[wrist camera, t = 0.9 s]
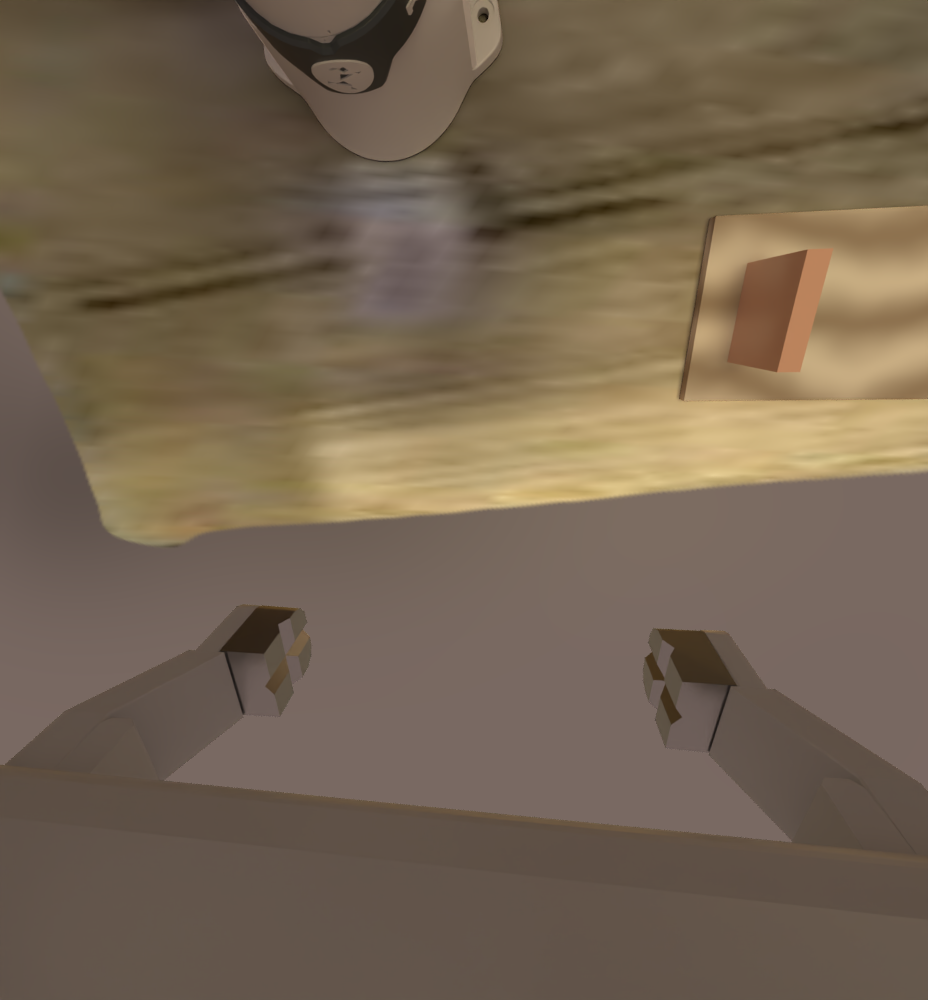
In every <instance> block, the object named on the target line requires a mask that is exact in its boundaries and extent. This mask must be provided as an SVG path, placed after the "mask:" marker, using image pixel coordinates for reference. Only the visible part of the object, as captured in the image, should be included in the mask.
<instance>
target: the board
mask: <svg viewBox="0 0 928 1000" xmlns="http://www.w3.org/2000/svg"><path fill="white" fill-rule="evenodd" d="M827 248H833V252H832V256H831V259H830V263H829V267H828V270H827V274H826V278H825V282H824V285H823V289H822V293H821V296H820V300H819V304H818V307H817V311H816V315H815V319H814V322H813V326H812V330H811V333H810V337H809V341H808V344H807V348H806V352H805V356H804V359H803V363H802V367H801V370H800V372H773V371H768V370H763V369H758V368H753V367H748V366H744V365H739V364H734V363H729V362H727V360H728V355H729V351H730V346H731V341H732V336H733V331H734V326H735V321H736V316H737V311H738V307H739V302H740V297H741V292H742V287H743V282H744V277H745V272H746V267H747V263H750V262H754V261H759V260H763V259H767V258H772V257H776V256H781V255H785V254H789V253H794V252H798V251H803V250H807V249H827ZM679 399H681V400H683V401H739V400H856V399H928V206H912V207H891V208H871V209H851V210H830V211H810V212H790V213H769V214H749V215H729V216H715V217H713V218H711V219H710V220H709V226H708V232H707V238H706V244H705V250H704V256H703V262H702V268H701V274H700V280H699V285H698V291H697V297H696V303H695V309H694V315H693V321H692V327H691V333H690V339H689V345H688V351H687V357H686V363H685V369H684V375H683V381H682V387H681V393H680V398H679Z"/></svg>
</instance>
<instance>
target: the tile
mask: <svg viewBox="0 0 928 1000" xmlns="http://www.w3.org/2000/svg"><path fill="white" fill-rule="evenodd" d="M832 252H833V248H827V249H807V250H803V251H798V252H794V253H789V254H785V255H781V256H776V257H772V258H767V259H763V260H759V261H754V262H750V263H747V267H746V272H745V277H744V282H743V287H742V292H741V297H740V302H739V307H738V311H737V316H736V321H735V326H734V331H733V336H732V341H731V346H730V351H729V355H728V360H727V362H729V363H734V364H739V365H744V366H748V367H753V368H758V369H763V370H768V371H773V372H800V370H801V367H802V363H803V359H804V356H805V352H806V348H807V344H808V341H809V337H810V333H811V330H812V326H813V322H814V319H815V315H816V311H817V307H818V304H819V300H820V296H821V293H822V289H823V285H824V282H825V278H826V274H827V270H828V267H829V263H830V259H831V256H832Z"/></svg>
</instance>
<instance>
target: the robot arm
mask: <svg viewBox="0 0 928 1000" xmlns="http://www.w3.org/2000/svg"><path fill="white" fill-rule="evenodd" d="M235 2H236V3H237V5H238V6H239V8H240V10H241V12H242V14H243V15H244V17H245V18H246V20H247V21H248V23H249V24H250V26H251V27H252V29H253V30H254V31H255V33H256V34H257V36H258V37H259V39H260V40H261V41H262V43H263V44H264V55H265V59H266V62H267V64H268V65H269V67H270V68H271V70H272V71H273V73H274V74H275V75H276V76H277V77H278V78H279V79H280V80H281V81H282V82H283V83H284V84H286V85H287V86H288V87H290V88H291V89H293V90H294V91H295V92H297V93H298V94H300V95H301V96H302V97H303V98H304V100H305V101H306V102H307V104H308V105H309V107H310V108H311V110H312V111H313V113H314V114H315V116H316V117H317V119H318V121H319V122H320V123H321V125H322V126H323V127H324V128H325V130H326V131H327V132H328V133H329V134H330V135H331V136H332V137H333V138H334V139H335V140H336V141H337V142H338V143H340V144H341V145H342V146H344V147H345V148H346V149H348V150H350V151H351V152H353V153H355V154H357V155H360V156H362V157H365V158H368V159H372V160H378V161H394V160H400V159H404V158H407V157H410V156H413V155H415V154H417V153H419V152H421V151H422V150H424V149H426V148H427V147H428V146H430V145H431V144H432V143H433V142H434V141H436V140H437V139H438V138H439V137H440V136H441V135H442V133H443V132H444V131H445V130H446V129H447V127H448V126H449V125H450V123H451V122H452V120H453V118H454V117H455V115H456V113H457V112H458V110H459V108H460V105H461V103H462V101H463V99H464V97H465V95H466V93H467V91H468V89H469V87H470V85H471V84H472V82H473V81H474V80H475V79H476V78H477V77H478V76H479V75H480V74H481V73H482V72H483V71H485V70H486V69H487V68H488V67H489V66H490V64H491V63H492V62H493V61H494V60H495V59H496V57H497V56H498V54H499V52H500V50H501V47H502V43H503V34H502V27H501V19H500V12H499V5H498V0H235ZM483 13H485V14H487V15H488V16H489V18H488V20H487V21H486V22H485V23H481V22H480V21H479V20H478V18H479V16H480V15H481V14H483ZM306 623H307V620H306V616H305V612H304V611H303V610H302V609H300V608H288V607H275V606H263V605H262V606H258V605H245V604H243V605H240V606H237V607H236V608H235V609H234V610H233V611H232V612H231V613H230V614H229V615H228V616H227V617H226V618H225V620H224V621H223V622H222V623H221V624H220V625H219V626H218V627H217V628H216V629H215V630H214V631H213V632H212V633H211V635H210V636H209V637H208V638H207V639H206V640H205V641H204V642H203V643H202V644H201V645H200V646H199V647H198V648H197V649H196V650H188V651H186V652H184V653H182V654H180V655H178V656H176V657H174V658H172V659H170V660H168V661H166V662H164V663H162V664H160V665H158V666H156V667H154V668H152V669H149V670H147V671H145V672H143V673H141V674H139V675H137V676H136V677H133V678H132V679H129V680H127V681H125V682H123V683H121V684H119V685H117V686H115V687H113V688H111V689H109V690H107V691H105V692H103V693H101V694H99V695H97V696H95V697H93V698H90V699H88V700H86V701H84V702H83V703H80V704H78V705H76V706H74V707H72V708H70V709H68V710H66V711H64V712H63V713H62V714H61V715H60V716H59V717H58V718H57V719H55V720H54V721H53V722H52V723H51V724H50V725H49V726H48V727H46V728H45V729H44V730H43V731H42V732H41V733H40V734H39V735H38V736H36V737H35V738H34V739H33V740H32V741H31V742H30V743H29V744H27V745H26V746H25V747H24V748H23V749H22V750H21V751H20V752H18V753H17V754H16V755H15V756H14V757H13V758H12V759H11V760H9V761H8V762H7V763H6V764H5V765H0V1000H928V791H927V790H926V789H925V788H924V786H923V785H922V784H921V783H919V782H918V781H916V780H915V779H913V778H911V777H910V776H908V775H907V774H905V773H904V772H902V771H901V770H899V769H898V768H896V767H894V766H893V765H891V764H890V763H888V762H887V761H885V760H884V759H882V758H880V757H879V756H877V755H876V754H874V753H873V752H871V751H870V750H868V749H867V748H865V747H863V746H862V745H860V744H859V743H857V742H856V741H854V740H853V739H851V738H850V737H848V736H846V735H845V734H843V733H842V732H840V731H839V730H837V729H836V728H834V727H833V726H831V725H830V724H828V723H826V722H825V721H823V720H822V719H820V718H819V717H817V716H816V715H814V714H812V713H811V712H809V711H808V710H806V709H805V708H803V707H802V706H800V705H799V704H797V703H795V702H794V701H792V700H791V699H789V698H788V697H786V696H785V695H783V694H782V693H780V692H778V691H777V690H775V689H767V688H766V686H765V685H764V684H763V682H762V680H761V679H760V678H759V676H758V675H757V673H756V672H755V670H754V669H753V668H752V666H751V665H750V663H749V662H748V660H747V659H746V657H745V656H744V655H743V653H742V652H741V650H740V649H739V647H738V646H737V645H736V643H735V642H734V640H733V639H732V637H731V636H730V635H729V634H728V633H727V632H725V631H712V630H700V631H696V630H676V629H675V630H674V629H656V628H653V629H652V631H651V633H650V636H649V641H648V643H649V646H650V648H651V651H652V653H650V654H649V655H648V656H647V657H646V658H645V661H644V667H643V683H644V687H645V692H646V695H647V698H648V701H649V703H651V704H652V705H653V706H654V707H655V708H656V709H657V713H656V718H655V721H656V724H657V726H658V729H659V732H660V734H661V737H662V740H663V743H664V745H665V748H670V749H679V750H689V751H697V752H707V753H709V756H710V757H711V758H712V759H713V760H714V761H715V762H716V763H717V764H718V765H719V766H720V767H721V768H722V769H723V770H724V771H725V772H726V773H727V774H728V775H729V776H730V777H731V778H732V779H733V780H734V781H735V783H736V784H738V785H739V787H740V788H741V789H742V790H743V791H744V792H745V793H746V794H747V795H748V796H749V797H750V798H751V799H752V800H753V801H754V802H755V803H756V804H757V805H758V806H759V807H760V808H761V809H762V810H763V812H765V814H766V815H767V816H768V817H769V818H770V819H771V820H772V821H773V822H774V823H775V824H776V825H777V826H778V827H779V828H780V829H781V830H782V831H783V832H784V833H785V834H786V835H787V836H788V837H789V838H790V839H791V841H792V842H782V841H771V840H761V839H752V838H741V837H731V836H721V835H711V834H701V833H691V832H681V831H671V830H660V829H650V828H640V827H630V826H619V825H609V824H599V823H588V822H579V821H568V820H558V819H547V818H537V817H526V816H517V815H507V814H497V813H486V812H476V811H466V810H456V809H446V808H436V807H426V806H416V805H405V804H395V803H385V802H375V801H365V800H355V799H345V798H335V797H325V796H324V797H323V796H314V795H304V794H294V793H284V792H273V791H263V790H253V789H243V788H233V787H222V786H212V785H202V784H192V783H182V782H172V781H164V780H165V779H166V778H167V777H169V776H170V775H171V774H172V773H174V772H175V771H176V770H177V769H178V768H180V767H181V766H182V765H183V764H185V763H186V762H188V761H189V760H190V759H191V758H193V757H194V756H195V755H196V754H197V753H199V752H200V751H201V750H203V749H204V748H205V747H206V746H208V745H209V744H210V743H211V742H213V741H214V740H215V739H216V738H218V737H219V736H220V735H222V734H223V733H224V732H225V731H226V730H228V729H229V728H230V727H232V726H233V725H234V724H235V723H237V722H238V721H239V720H240V719H242V718H243V715H254V716H275V717H280V716H281V714H282V712H283V711H284V709H285V707H286V705H287V704H288V702H289V700H290V698H291V697H292V695H293V693H294V691H293V687H292V684H293V683H295V682H296V681H298V680H299V679H301V678H302V677H303V675H304V673H305V672H306V670H307V668H308V665H309V661H310V657H311V640H310V637H309V636H308V635H307V634H306V632H304V630H303V628H304V626H305V625H306Z"/></svg>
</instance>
